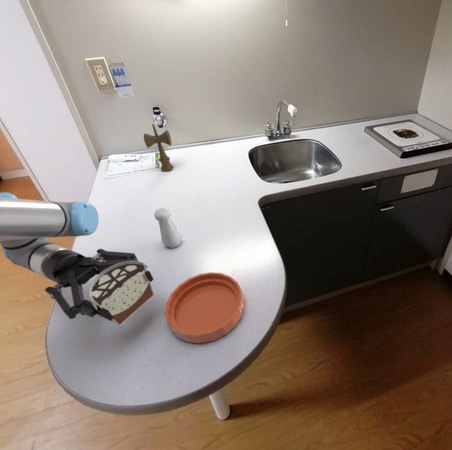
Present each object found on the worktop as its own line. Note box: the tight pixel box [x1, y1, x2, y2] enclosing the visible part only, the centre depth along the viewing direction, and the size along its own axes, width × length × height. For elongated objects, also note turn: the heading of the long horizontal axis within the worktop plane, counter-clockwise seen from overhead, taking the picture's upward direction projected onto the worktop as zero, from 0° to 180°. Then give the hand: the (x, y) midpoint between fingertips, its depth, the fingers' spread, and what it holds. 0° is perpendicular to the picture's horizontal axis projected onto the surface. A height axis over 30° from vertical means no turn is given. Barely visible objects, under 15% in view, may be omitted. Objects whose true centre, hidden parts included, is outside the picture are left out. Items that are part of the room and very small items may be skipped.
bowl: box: [164, 271, 245, 344], centre depth 76 cm, size 18×18×4 cm
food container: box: [89, 260, 155, 327], centre depth 66 cm, size 12×6×10 cm, turn 151°
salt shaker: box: [153, 207, 183, 249], centre depth 92 cm, size 6×6×13 cm
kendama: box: [143, 123, 174, 172], centre depth 126 cm, size 6×10×20 cm, turn 107°
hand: (131, 295), depth 64 cm, fingers closed on food container, 10 cm apart
